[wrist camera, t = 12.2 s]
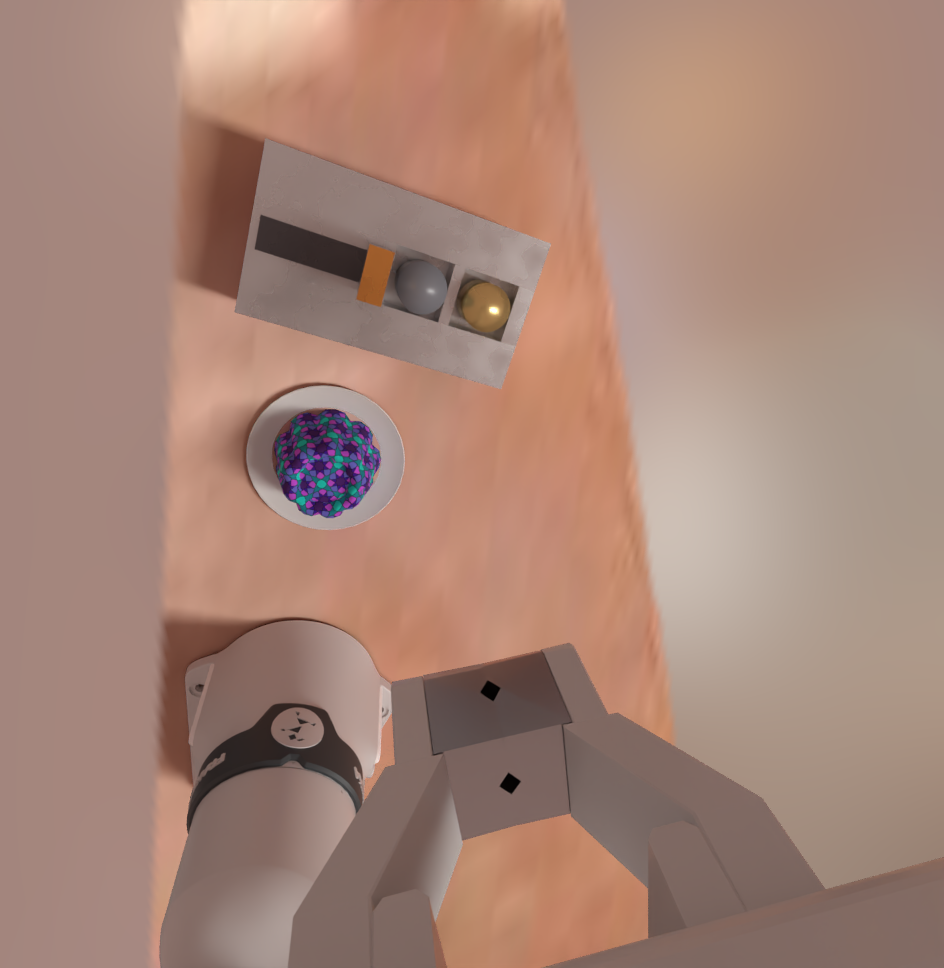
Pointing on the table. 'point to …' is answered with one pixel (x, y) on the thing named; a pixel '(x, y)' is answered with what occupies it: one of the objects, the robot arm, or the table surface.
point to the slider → (375, 274)
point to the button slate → (420, 286)
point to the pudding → (325, 458)
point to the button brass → (483, 305)
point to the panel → (411, 235)
